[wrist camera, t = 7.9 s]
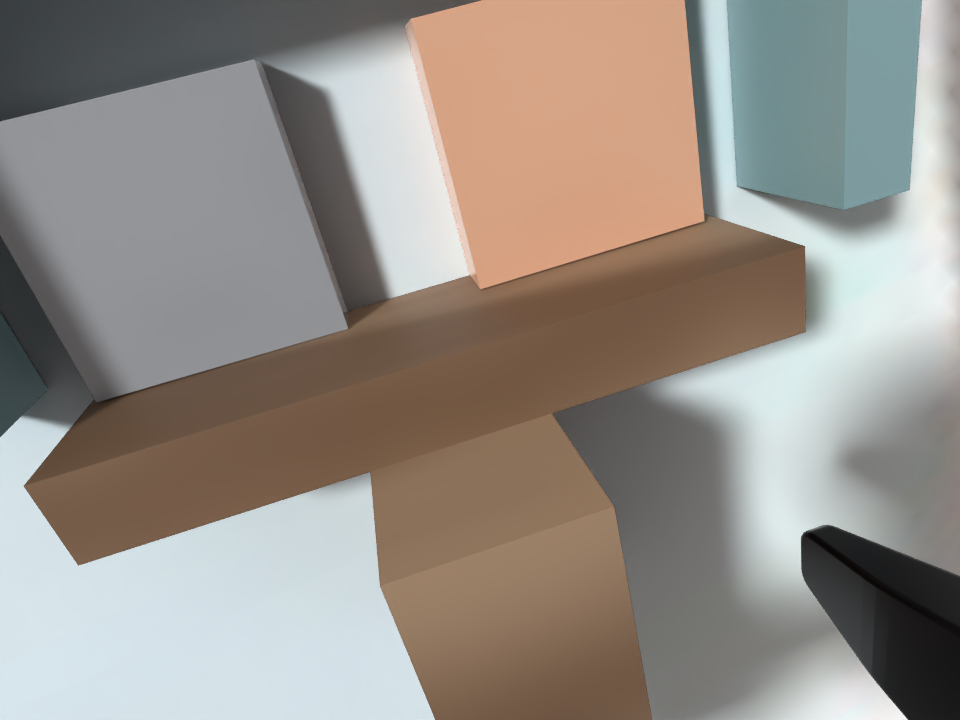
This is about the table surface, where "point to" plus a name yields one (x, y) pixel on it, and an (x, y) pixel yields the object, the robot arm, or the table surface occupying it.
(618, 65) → the tile terracotta
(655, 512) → the table surface
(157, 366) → the tile slate
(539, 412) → the scraper
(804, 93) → the teal corner frame
